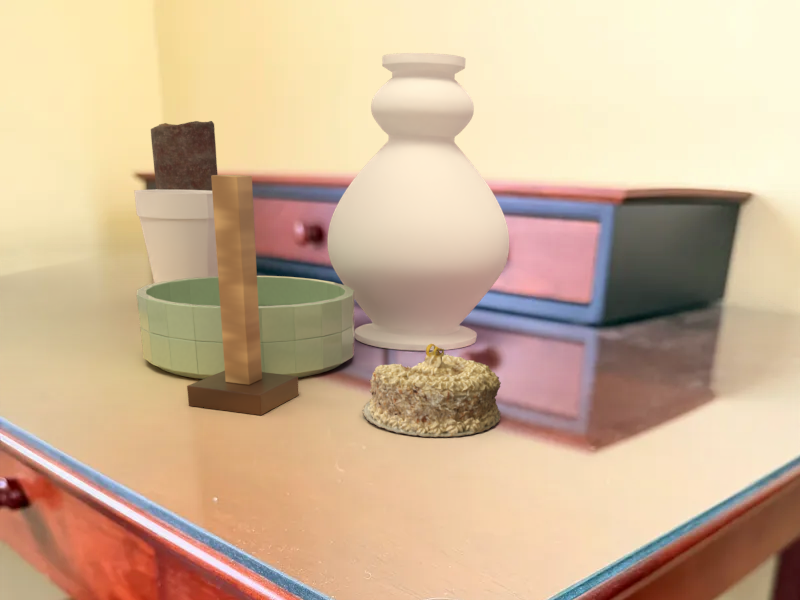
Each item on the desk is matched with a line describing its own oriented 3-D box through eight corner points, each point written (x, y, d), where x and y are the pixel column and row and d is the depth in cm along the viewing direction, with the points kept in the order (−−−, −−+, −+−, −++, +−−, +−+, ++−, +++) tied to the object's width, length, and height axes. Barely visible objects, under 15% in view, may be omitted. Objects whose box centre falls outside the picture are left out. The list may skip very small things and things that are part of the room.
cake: (528, 426, 59) (539, 353, 57) (430, 457, 53) (438, 377, 50) (431, 387, 65) (437, 319, 63) (333, 411, 59) (336, 337, 56)
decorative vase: (322, 354, 76) (317, 42, 66) (334, 320, 92) (331, 64, 82) (513, 359, 77) (538, 49, 66) (491, 323, 93) (509, 70, 82)
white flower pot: (191, 307, 97) (181, 188, 92) (251, 316, 93) (244, 192, 88) (129, 319, 90) (114, 190, 84) (191, 329, 86) (180, 194, 80)
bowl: (115, 381, 66) (105, 304, 63) (175, 335, 83) (169, 273, 80) (346, 387, 66) (345, 310, 63) (359, 339, 83) (359, 278, 80)
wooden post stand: (188, 405, 60) (167, 174, 53) (230, 386, 65) (216, 173, 59) (261, 415, 58) (248, 177, 52) (298, 395, 63) (292, 176, 57)
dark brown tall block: (213, 308, 98) (199, 119, 89) (155, 304, 99) (136, 118, 90) (235, 298, 104) (224, 122, 96) (181, 295, 105) (165, 120, 97)
